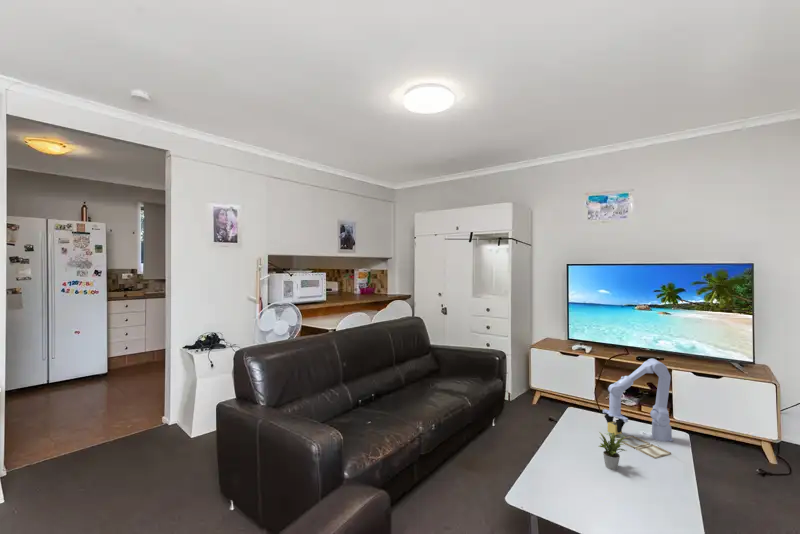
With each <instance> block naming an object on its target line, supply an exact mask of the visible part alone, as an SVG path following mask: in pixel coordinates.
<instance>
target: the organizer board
mask: <svg viewBox="0 0 800 534" xmlns="http://www.w3.org/2000/svg"><path fill="white" fill-rule="evenodd" d="M604 434H605V435H606V436H609V434H610V436H612V433H610V432H608V431H607V432H605V433H604ZM610 436H609V437H610ZM623 437H625V438H623ZM621 438H623V439H624V440H622V441H628V442H621V443H620V444H622V443H623V444H624V446H627V447H630V448H631V449H635V450H636V451H638V452H639V453H642V454H644V455H646V456H649V457H651V458H652V459H658V458H662V457H666V456H669V455H672V452H670V451H668V450H666V449H664V448H662V447H660V446H657V445H655V444H652V443H651V442H648V441H646V440H644V439H642V438H639V437H637V436H635V435H630V436H625V435H624V434H623V433H621V434H617V435H615V440H616V442H617V441H618V440H617V439H621Z"/></svg>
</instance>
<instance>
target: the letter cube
mask: <svg viewBox="0 0 800 534" xmlns="http://www.w3.org/2000/svg"><path fill="white" fill-rule="evenodd" d="M608 432H610V433H612V434H613V433H615V435H617V434H623V433H622V432H623V429H622V430H621V432H619V433H618V432H617V423H616V420H613V421H612V422H608V423H607V433H608Z"/></svg>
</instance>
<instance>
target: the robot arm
mask: <svg viewBox="0 0 800 534" xmlns="http://www.w3.org/2000/svg"><path fill="white" fill-rule="evenodd" d="M654 373H655V374H656V375H657V377H658V381H657V389H656V396H655V404H654V405H652V409H651V411H650V412H649V415H650V418H651V419H652V421H651V438H652V439H653V440H655V441H658V442H674V439H673V436H672V434H673V432H672V431H673V430H672V426H671V424H670V422H671V418H670V416H669V415H670V413H669V409H668V400H669V393H670V386H671V385H670V384H671V377H672V376H671V374H670V372H669V370H668V367H667V366H666V365H665V363H663V362H661V361H659V360H657V359H656V358H648V359H647V360H645V361H644V362H643V363H642V364H641V365H640V366H639V367H637V369H635V370H634V371H632V373H630V374H629V375H624V376H623V375H622V376H621V377H620V379H618V380H617V381H616V382H614V383H611V384H610V385H609V386H608V387H607V391H608V393H609V399H608V400H609V403H608V404H609V405H608V406H609V408H608V409H606V408H603V409H602V414H605V415H604V418H605V420H606V423H607V424H608V422H612V421H614V418H616V419H615V422H616V423H617V432H618V433H619V432H621V430H622V431H623V427H624V425H625V423H628V422H629V418H628V417H626V416H624V415H623V414H622V396H623V395H624V392H625V391H626V390H627V389H629V388H631V386H633V385H634V382H635V381H636V380H638V379H639V378H641V377H642V376H644V375H645V374H654Z"/></svg>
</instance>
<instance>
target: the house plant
mask: <svg viewBox="0 0 800 534" xmlns="http://www.w3.org/2000/svg"><path fill="white" fill-rule="evenodd" d="M598 432H599V434H600V436H601V437H599V436H598V437H599V439H601V438H602V439H601V441H602V442H603V443H601V442H600V445H598V447H599V448H602V449H603V448H604V451H603V452H602V454H603V460H604V466H605V467H606V468H607V469H609V470H613V471H615V470H618V467H619V464H620V458H621V457H620V456H621V455H620V454H619V453H620V452H623V451H624V452H628V450H627V449H624V448H621V447H622V446H625V444H623V443H621V442H628V441H622V440H624V439H623V438H625V437H626V436H624V437H620V438H621V439H620V438H616V439H615V433H613V434H612V436H610V434H609V435H608V436H609V439H610V440H608V441H607V439H606V436H605V435H604V434H603V433H601V432H600V431H598ZM617 440H618V441H617ZM618 450H619V451H618Z"/></svg>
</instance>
